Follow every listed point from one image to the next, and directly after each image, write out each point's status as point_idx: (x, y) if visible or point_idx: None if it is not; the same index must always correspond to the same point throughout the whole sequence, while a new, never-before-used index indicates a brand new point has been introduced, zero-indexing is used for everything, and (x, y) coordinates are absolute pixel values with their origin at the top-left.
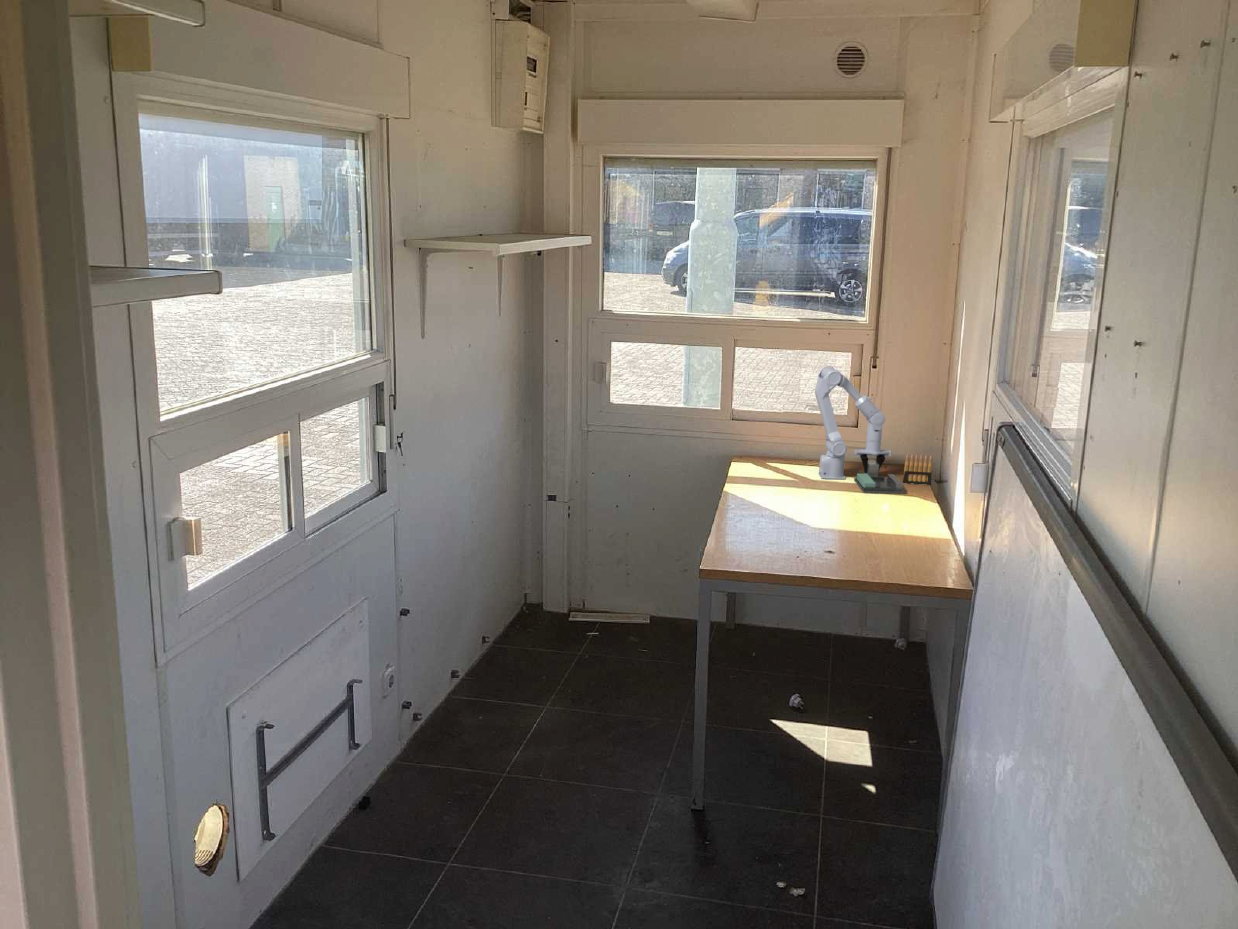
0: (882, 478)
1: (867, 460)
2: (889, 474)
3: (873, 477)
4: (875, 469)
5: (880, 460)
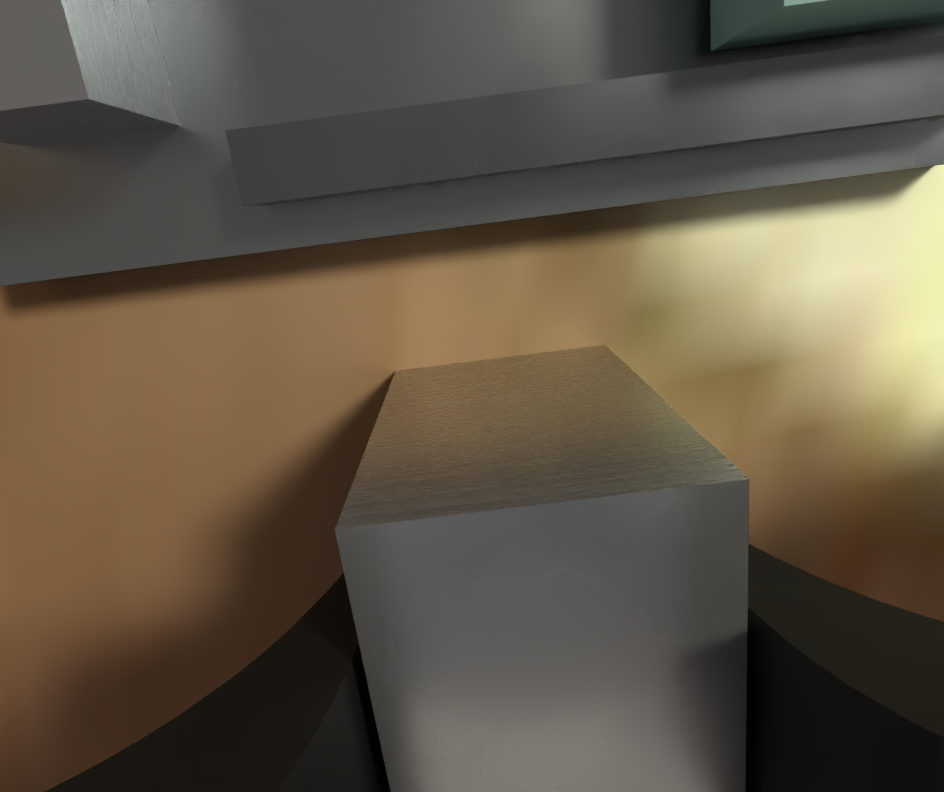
0: (290, 126)
1: (872, 684)
2: (20, 49)
3: (535, 90)
4: (462, 436)
5: (236, 760)
